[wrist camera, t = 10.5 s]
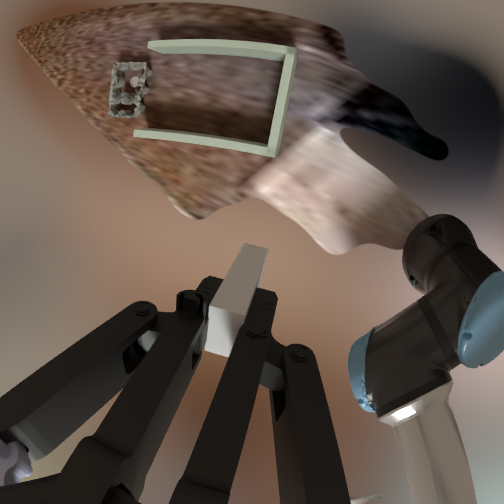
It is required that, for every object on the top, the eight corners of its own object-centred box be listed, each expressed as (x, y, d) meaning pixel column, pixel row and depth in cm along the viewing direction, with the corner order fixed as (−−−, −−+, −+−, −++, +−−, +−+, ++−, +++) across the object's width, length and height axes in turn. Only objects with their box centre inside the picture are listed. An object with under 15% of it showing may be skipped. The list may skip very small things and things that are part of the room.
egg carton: (126, 63, 39) (113, 60, 35) (158, 64, 39) (146, 60, 35) (113, 115, 44) (100, 115, 40) (144, 120, 43) (131, 120, 40)
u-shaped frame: (297, 57, 35) (296, 47, 30) (278, 154, 42) (274, 157, 37) (164, 48, 37) (148, 41, 32) (150, 134, 44) (133, 136, 39)
